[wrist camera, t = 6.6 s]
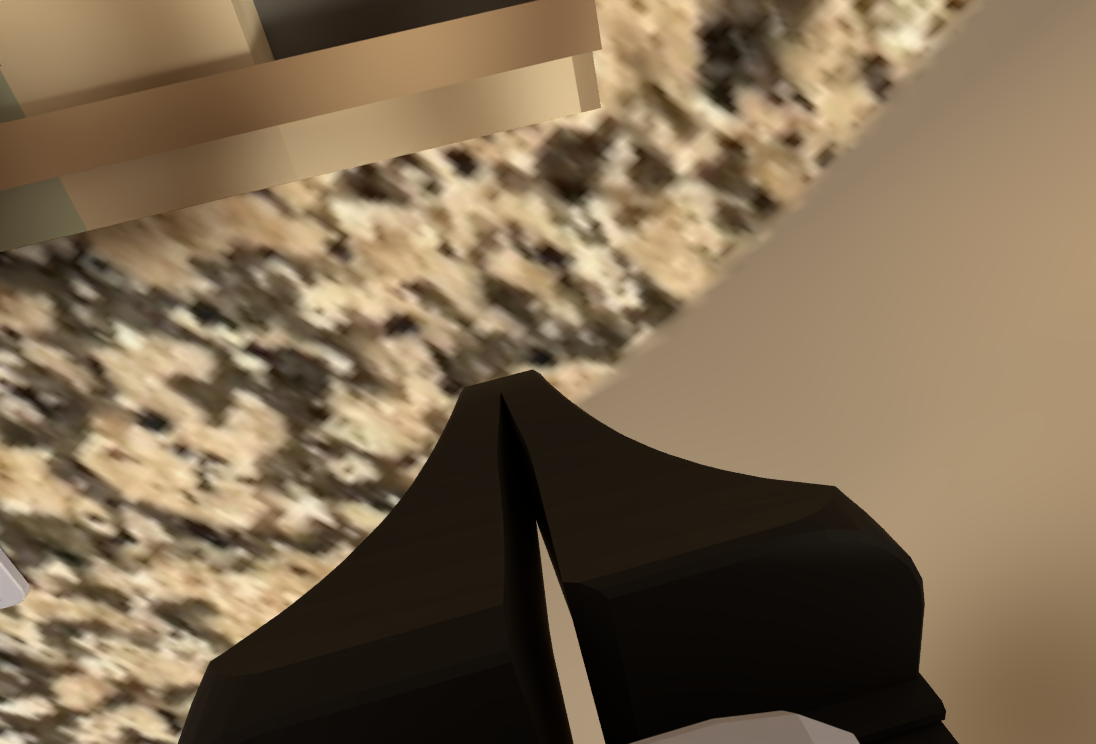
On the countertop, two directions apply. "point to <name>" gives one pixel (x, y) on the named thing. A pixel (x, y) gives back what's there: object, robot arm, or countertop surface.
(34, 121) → the wooden tray
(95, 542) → the countertop surface
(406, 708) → the robot arm
